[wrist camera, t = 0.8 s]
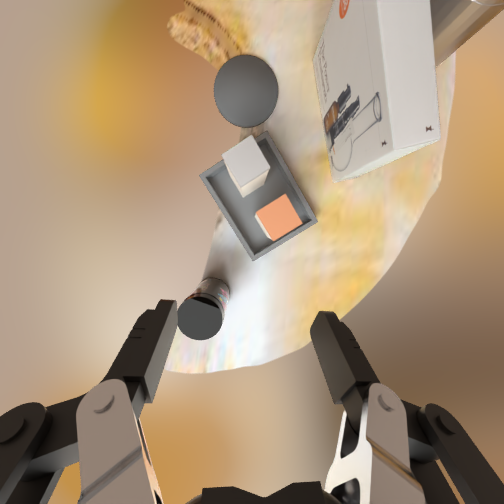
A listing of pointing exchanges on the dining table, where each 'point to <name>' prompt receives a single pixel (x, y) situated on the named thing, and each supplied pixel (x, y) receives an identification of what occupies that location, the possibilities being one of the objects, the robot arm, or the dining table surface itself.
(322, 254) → the dining table surface
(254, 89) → the slate mat
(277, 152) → the parts tray
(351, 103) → the skincare box
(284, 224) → the rust lid box
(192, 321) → the supplement container
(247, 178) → the white lid box
